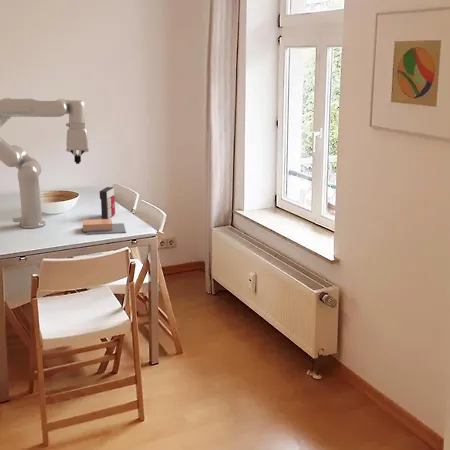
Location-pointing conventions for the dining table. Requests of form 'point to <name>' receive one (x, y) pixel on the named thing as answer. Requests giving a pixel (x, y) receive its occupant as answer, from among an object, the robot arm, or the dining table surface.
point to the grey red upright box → (107, 202)
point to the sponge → (97, 225)
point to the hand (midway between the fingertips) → (77, 163)
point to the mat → (115, 228)
